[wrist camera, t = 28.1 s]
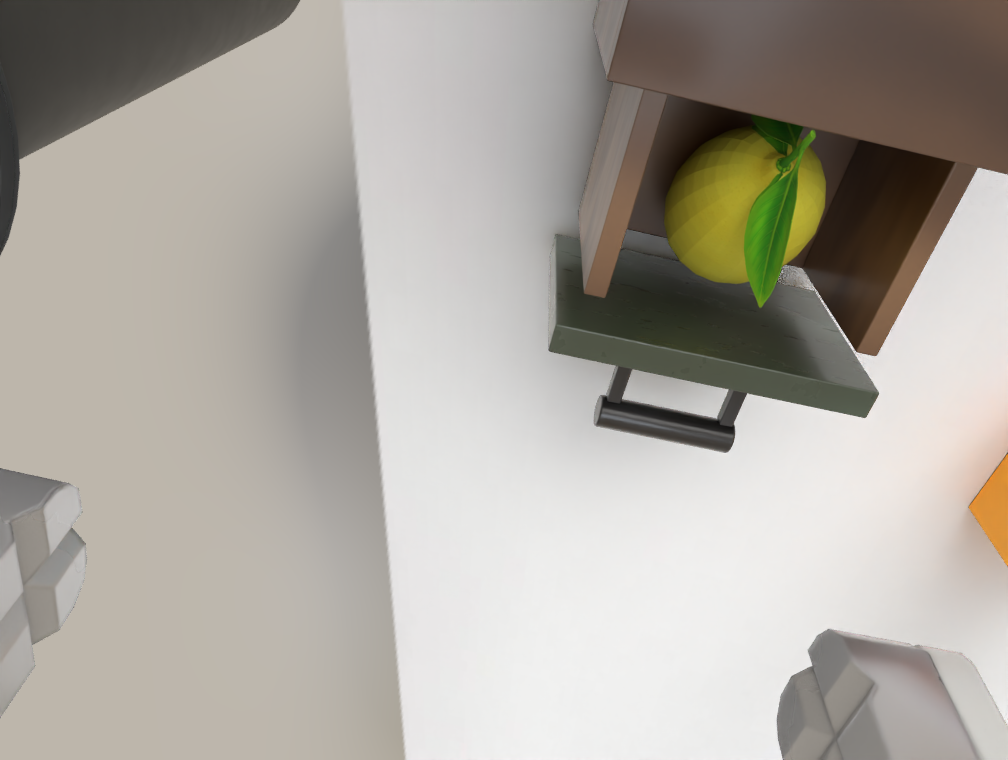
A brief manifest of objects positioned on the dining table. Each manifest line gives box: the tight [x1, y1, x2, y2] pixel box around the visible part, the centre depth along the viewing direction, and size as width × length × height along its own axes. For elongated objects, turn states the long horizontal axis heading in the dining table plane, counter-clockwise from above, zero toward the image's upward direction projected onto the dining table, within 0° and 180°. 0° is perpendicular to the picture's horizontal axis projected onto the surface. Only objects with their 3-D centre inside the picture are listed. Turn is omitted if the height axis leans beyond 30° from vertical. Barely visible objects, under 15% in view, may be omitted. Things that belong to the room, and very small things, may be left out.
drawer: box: [548, 82, 978, 453], centre depth 31 cm, size 19×12×9 cm, turn 168°
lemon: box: [664, 115, 826, 307], centre depth 29 cm, size 7×6×10 cm
